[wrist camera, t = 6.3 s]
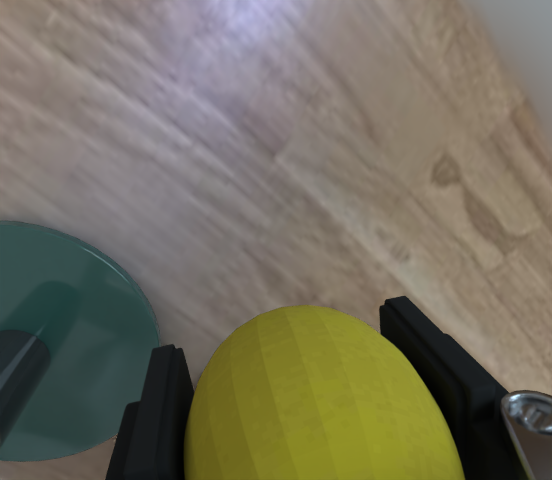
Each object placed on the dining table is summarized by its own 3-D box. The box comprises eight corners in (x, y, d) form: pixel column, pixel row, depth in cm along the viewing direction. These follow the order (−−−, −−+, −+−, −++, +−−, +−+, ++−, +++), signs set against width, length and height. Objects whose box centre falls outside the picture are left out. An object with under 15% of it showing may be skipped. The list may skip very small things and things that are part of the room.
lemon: (306, 222, 11) (494, 454, 4) (395, 349, 13) (633, 667, 6) (152, 331, 12) (50, 737, 4) (260, 440, 14) (321, 849, 6)
